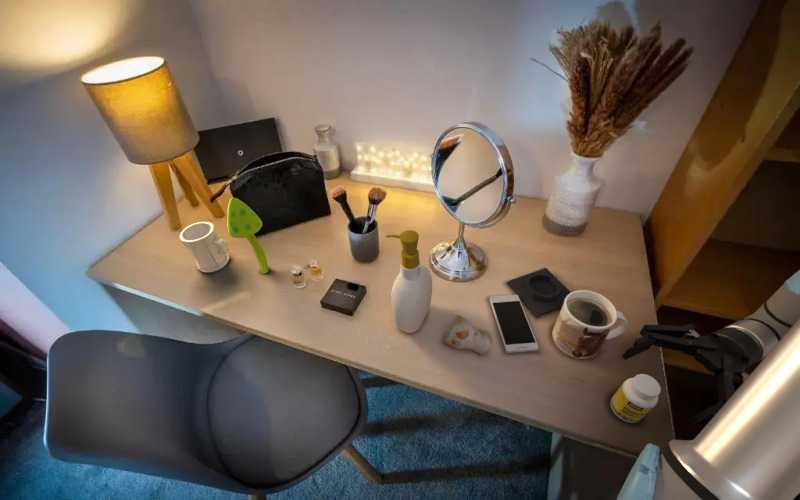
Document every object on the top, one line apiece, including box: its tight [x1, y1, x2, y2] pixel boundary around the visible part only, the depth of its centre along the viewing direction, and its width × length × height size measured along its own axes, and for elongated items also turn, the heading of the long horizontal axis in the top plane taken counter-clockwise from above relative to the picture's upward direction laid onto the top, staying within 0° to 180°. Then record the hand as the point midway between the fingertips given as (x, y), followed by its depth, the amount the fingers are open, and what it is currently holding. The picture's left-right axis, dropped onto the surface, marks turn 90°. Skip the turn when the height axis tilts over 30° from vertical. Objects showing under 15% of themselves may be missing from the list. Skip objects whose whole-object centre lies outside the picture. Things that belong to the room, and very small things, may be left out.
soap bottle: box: [385, 229, 433, 334], centre depth 76 cm, size 14×9×26 cm, turn 158°
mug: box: [551, 289, 629, 359], centre depth 74 cm, size 10×12×11 cm
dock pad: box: [506, 267, 572, 319], centre depth 87 cm, size 12×12×3 cm
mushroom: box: [226, 197, 269, 274], centre depth 92 cm, size 8×8×25 cm
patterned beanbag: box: [443, 314, 492, 355], centre depth 77 cm, size 8×10×10 cm
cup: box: [178, 221, 230, 273], centre depth 100 cm, size 10×9×12 cm
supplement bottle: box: [610, 373, 662, 424], centre depth 63 cm, size 5×5×10 cm
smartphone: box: [489, 294, 540, 354], centre depth 82 cm, size 7×15×1 cm, turn 3°
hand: (656, 385), depth 63 cm, fingers open, 13 cm apart
